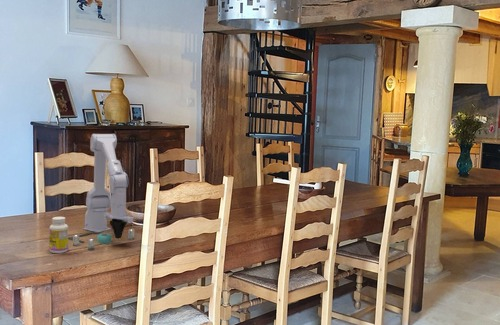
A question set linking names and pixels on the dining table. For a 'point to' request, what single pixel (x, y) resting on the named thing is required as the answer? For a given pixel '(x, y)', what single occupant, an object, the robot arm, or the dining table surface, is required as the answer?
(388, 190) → the dining table surface
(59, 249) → the supplement bottle
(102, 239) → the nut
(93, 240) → the spacer field
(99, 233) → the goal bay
